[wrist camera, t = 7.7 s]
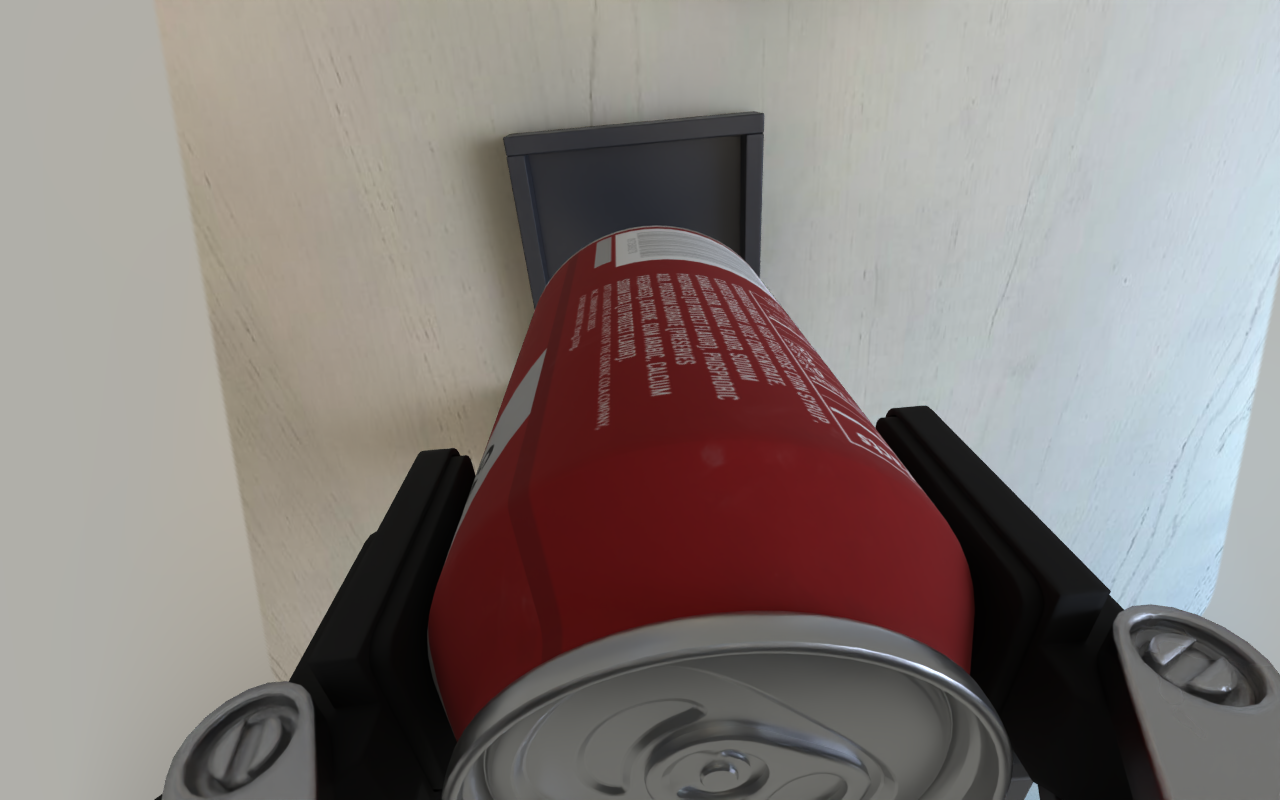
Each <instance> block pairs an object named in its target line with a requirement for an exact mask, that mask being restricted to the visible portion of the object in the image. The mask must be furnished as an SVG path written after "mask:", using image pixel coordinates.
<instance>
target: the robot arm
mask: <svg viewBox="0 0 1280 800" xmlns="http://www.w3.org/2000/svg"><path fill="white" fill-rule="evenodd" d="M876 430H877V431H878V433H879V434H880V435H881V436H882V438H883V439H884V440H885V442H886V443H887V444H888V446H889V447H890V448H891V449H892V451H893V452H894V453H895V455H896V456H897V457H898V458H899V460H900V461H901V462H902V464H903V465H904V466H905V468H906V469H907V470H908V471H909V473H910V474H911V475H912V477H913V478H914V479H915V481H916V482H917V483H918V484H919V486H920V487H921V488H922V490H923V491H924V492H925V493H926V495H927V496H928V497H929V499H930V500H931V501H932V503H933V504H934V505H935V506H936V508H937V509H938V510H939V512H940V513H941V514H942V516H943V517H944V518H945V520H946V521H947V522H948V524H949V526H950V528H951V529H952V531H953V533H954V534H955V536H956V538H957V539H958V541H959V543H960V545H961V548H962V550H963V553H964V555H965V557H966V560H967V563H968V565H969V569H970V574H971V578H972V583H973V588H974V604H975V616H974V629H973V642H972V655H971V667H970V676H971V677H972V678H973V679H974V680H975V682H976V683H977V684H978V685H979V687H980V688H981V689H982V691H983V692H984V694H985V695H986V697H987V698H988V699H989V701H990V702H991V704H992V705H993V707H994V709H995V710H996V712H997V714H998V715H999V717H1000V719H1001V721H1002V723H1003V725H1004V728H1005V730H1006V732H1007V734H1008V737H1009V740H1010V744H1011V748H1012V752H1013V764H1022V765H1023V767H1024V768H1025V770H1026V772H1027V773H1028V775H1029V777H1030V778H1031V780H1032V781H1033V782H1035V783H1036V784H1038V789H1039V796H1040V800H1280V675H1279V673H1278V672H1277V670H1276V669H1275V668H1274V667H1273V665H1272V664H1271V663H1270V661H1269V660H1268V659H1267V658H1265V657H1264V656H1263V655H1262V654H1261V653H1260V652H1258V651H1257V650H1256V649H1255V648H1254V647H1253V646H1251V645H1250V644H1249V643H1248V642H1246V641H1245V640H1243V639H1242V638H1240V637H1239V636H1237V635H1235V634H1234V633H1232V632H1231V631H1229V630H1227V629H1226V628H1224V627H1222V626H1220V625H1218V624H1216V623H1214V622H1212V621H1209V620H1207V619H1205V618H1203V617H1201V616H1199V615H1196V614H1193V613H1189V612H1186V611H1183V610H1179V609H1176V608H1173V607H1166V606H1158V605H1140V606H1132V607H1130V608H1128V609H1126V610H1124V609H1123V608H1122V607H1121V606H1120V605H1119V604H1118V603H1117V602H1116V601H1115V600H1114V599H1113V598H1112V597H1111V596H1110V595H1109V594H1110V592H1111V591H1110V590H1109V589H1108V588H1107V587H1106V586H1105V585H1104V584H1103V583H1102V582H1101V581H1100V580H1099V579H1098V578H1097V577H1096V576H1095V575H1094V574H1093V573H1092V572H1091V571H1090V570H1089V569H1088V568H1087V566H1086V565H1085V564H1084V563H1083V562H1082V561H1081V560H1080V559H1079V558H1078V557H1077V556H1076V555H1075V554H1074V553H1073V552H1072V551H1071V550H1070V549H1069V548H1068V547H1067V546H1066V545H1065V544H1064V543H1063V542H1062V541H1061V540H1060V539H1059V538H1058V537H1057V536H1056V535H1055V534H1054V533H1053V532H1052V531H1051V530H1050V529H1049V528H1048V527H1047V526H1046V525H1045V524H1044V523H1043V522H1042V521H1041V520H1040V519H1039V518H1038V517H1037V516H1036V515H1035V514H1034V513H1033V512H1032V511H1031V510H1030V509H1029V508H1028V507H1027V506H1026V505H1025V504H1024V503H1023V502H1022V501H1021V500H1020V499H1019V498H1018V497H1017V496H1016V495H1015V493H1014V492H1013V491H1012V490H1011V489H1010V488H1009V487H1008V486H1007V485H1006V484H1005V483H1004V482H1003V481H1002V480H1001V479H1000V478H999V477H998V476H997V475H996V474H995V473H994V472H993V471H992V470H991V469H990V468H989V467H988V466H987V465H986V464H985V463H984V462H983V461H982V460H981V459H980V458H979V457H978V456H977V455H976V454H975V453H974V452H973V451H972V450H971V449H970V448H969V447H968V446H967V445H966V444H965V443H964V442H963V441H962V440H961V439H960V438H959V437H958V436H957V435H956V434H955V433H954V432H953V431H952V430H951V429H950V428H949V427H948V426H947V425H946V424H945V423H944V422H943V421H942V419H941V418H940V417H939V416H938V415H937V414H936V413H935V412H934V411H933V410H932V409H930V408H929V407H928V406H914V407H903V408H892V409H890V410H889V411H888V413H887V414H886V417H885V418H880V419H879V420H878V421H877V424H876ZM475 477H476V476H475V472H474V469H473V465H472V462H471V459H470V458H469V456H467V455H465V456H460V454H459V452H458V451H457V449H455V448H450V449H439V450H428V451H422V452H420V453H419V454H418V456H417V457H416V459H415V461H414V463H413V465H412V467H411V469H410V470H409V472H408V474H407V476H406V478H405V480H404V482H403V484H402V485H401V487H400V489H399V491H398V493H397V495H396V497H395V499H394V500H393V502H392V504H391V506H390V508H389V510H388V512H387V513H386V515H385V517H384V519H383V521H382V523H381V525H380V527H379V528H378V530H377V531H376V532H375V533H373V534H371V535H370V536H369V538H368V539H367V540H366V542H365V543H364V545H363V547H362V549H361V551H360V553H359V554H358V556H357V558H356V560H355V562H354V564H353V565H352V567H351V569H350V571H349V573H348V574H347V576H346V578H345V580H344V582H343V584H342V585H341V587H340V589H339V591H338V593H337V595H336V596H335V598H334V600H333V602H332V604H331V605H330V607H329V609H328V611H327V613H326V615H325V616H324V618H323V620H322V622H321V624H320V626H319V627H318V629H317V631H316V633H315V635H314V636H313V638H312V640H311V642H310V644H309V646H308V647H307V649H306V651H305V653H304V655H303V657H302V658H301V660H300V662H299V664H298V666H297V667H296V669H295V671H294V673H293V675H292V677H291V678H290V680H289V682H288V681H283V682H271V683H266V684H263V685H260V686H257V687H254V688H251V689H248V690H246V691H244V692H242V693H241V694H239V695H237V696H235V697H233V698H232V699H230V700H228V701H226V702H225V703H224V704H222V705H221V706H220V707H218V708H217V709H216V710H214V711H213V712H212V713H210V714H209V715H208V716H207V717H205V719H204V720H203V721H202V722H201V723H200V724H199V725H198V726H197V727H196V728H195V729H194V730H193V731H192V732H191V733H190V734H189V735H188V737H187V738H186V739H185V741H184V742H183V744H182V745H181V747H180V748H179V750H178V751H177V753H176V754H175V756H174V758H173V760H172V763H171V766H170V768H169V771H168V774H167V777H166V781H165V785H164V790H163V794H162V795H160V796H159V797H157V798H156V799H155V800H441V796H442V790H443V784H444V780H445V776H446V772H447V768H448V765H449V762H450V759H451V757H452V754H453V751H454V748H455V746H456V744H457V741H456V738H455V736H454V733H453V731H452V728H451V725H450V723H449V720H448V718H447V715H446V713H445V710H444V708H443V705H442V702H441V700H440V697H439V694H438V692H437V689H436V686H435V684H434V681H433V677H432V673H431V668H430V663H429V659H428V645H427V630H428V621H429V612H430V608H431V604H432V600H433V597H434V593H435V589H436V586H437V583H438V580H439V578H440V575H441V572H442V569H443V566H444V564H445V561H446V558H447V555H448V552H449V550H450V547H451V544H452V541H453V538H454V536H455V533H456V530H457V527H458V524H459V522H460V519H461V516H462V513H463V510H464V508H465V505H466V502H467V499H468V496H469V494H470V491H471V488H472V485H473V482H474V480H475Z"/></svg>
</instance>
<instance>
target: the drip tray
mask: <svg viewBox="0 0 1280 800" xmlns="http://www.w3.org/2000/svg"><path fill="white" fill-rule="evenodd" d="M763 132H764V113H759V112H743V113H732V114H721V115H710V116H699V117H689V118H678V119H667V120H656V121H645V122H635V123H624V124H613V125H602V126H591V127H580V128H570V129H559V130H548V131H537V132H526V133H516V134H510V135H508V136H506V137H504V138H503V140H504V146H505V151H506V155H507V156H508V157H507V162H508V168H509V173H510V179H511V184H512V189H513V195H514V200H515V206H516V211H517V216H518V222H519V227H520V233H521V238H522V244H523V249H524V254H525V260H526V265H527V271H528V276H529V281H530V287H531V292H532V298H533V303H534V309H536V306H537V304H538V301H539V299H540V296H541V295H542V293H543V291H544V289H545V287H546V285H547V284H548V282H549V281H550V279H551V278H552V277H553V275H554V274H555V273H556V272H557V270H558V269H559V268H560V267H561V266H562V265H563V264H564V263H565V262H566V261H567V260H568V259H569V258H570V257H571V256H573V255H574V254H575V253H577V252H578V251H579V250H580V249H582V248H583V247H585V246H587V245H588V244H590V243H592V242H593V241H595V240H597V239H600V238H602V237H604V236H606V235H609V234H612V233H614V232H617V231H621V230H625V229H629V228H634V227H641V226H655V225H658V226H673V227H679V228H685V229H689V230H693V231H696V232H699V233H702V234H704V235H707V236H709V237H711V238H713V239H715V240H717V241H719V242H721V243H723V244H724V245H726V246H727V247H729V248H730V249H732V250H733V251H734V252H735V253H737V254H738V255H739V256H740V257H741V258H742V259H743V260H744V261H745V262H746V263H747V264H748V265H749V266H750V267H751V268H752V269H753V271H754V272H755V273H756V274H757V276H758V277H759V278H760V248H761V212H762V176H763V141H764V134H763Z"/></svg>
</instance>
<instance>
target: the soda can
mask: <svg viewBox="0 0 1280 800" xmlns="http://www.w3.org/2000/svg"><path fill="white" fill-rule="evenodd" d="M974 616H975V604H974V588H973V583H972V578H971V574H970V569H969V565H968V563H967V560H966V557H965V555H964V553H963V550H962V548H961V545H960V543H959V541H958V539H957V538H956V536H955V534H954V533H953V531H952V529H951V528H950V526H949V524H948V522H947V521H946V520H945V518H944V517H943V516H942V514H941V513H940V512H939V510H938V509H937V508H936V506H935V505H934V504H933V503H932V501H931V500H930V499H929V497H928V496H927V495H926V493H925V492H924V491H923V490H922V488H921V487H920V486H919V484H918V483H917V482H916V481H915V479H914V478H913V477H912V475H911V474H910V473H909V471H908V470H907V469H906V468H905V466H904V465H903V464H902V462H901V461H900V460H899V458H898V457H897V456H896V455H895V453H894V452H893V451H892V449H891V448H890V447H889V446H888V444H887V443H886V442H885V440H884V439H883V438H882V436H881V435H880V434H879V433H878V431H877V430H876V429H875V427H874V426H873V425H872V423H871V422H870V421H869V420H868V418H867V417H866V416H865V414H864V413H863V412H862V411H861V409H860V408H859V407H858V405H857V404H856V403H855V401H854V400H853V399H852V398H851V396H850V395H849V394H848V392H847V391H846V390H845V388H844V387H843V386H842V385H841V383H840V382H839V381H838V379H837V378H836V377H835V375H834V374H833V373H832V372H831V370H830V369H829V368H828V366H827V365H826V364H825V363H824V361H823V360H822V359H821V357H820V356H819V355H818V353H817V352H816V351H815V350H814V348H813V347H812V346H811V344H810V343H809V342H808V340H807V339H806V338H805V337H804V335H803V334H802V333H801V331H800V330H799V329H798V328H797V326H796V325H795V324H794V322H793V321H792V320H791V318H790V317H789V316H788V315H787V313H786V312H785V311H784V309H783V308H782V307H781V305H780V304H779V303H778V302H777V300H776V299H775V298H774V296H773V295H772V294H771V292H770V291H769V290H768V289H767V287H766V286H765V285H764V283H763V282H762V281H761V280H760V278H759V277H758V276H757V274H756V273H755V272H754V271H753V269H752V268H751V267H750V266H749V265H748V264H747V263H746V262H745V261H744V260H743V259H742V258H741V257H740V256H739V255H738V254H737V253H735V252H734V251H733V250H732V249H730V248H729V247H727V246H726V245H724V244H723V243H721V242H719V241H717V240H715V239H713V238H711V237H709V236H707V235H704V234H702V233H699V232H696V231H693V230H689V229H685V228H679V227H673V226H658V225H655V226H641V227H634V228H629V229H625V230H621V231H617V232H614V233H612V234H609V235H606V236H604V237H602V238H600V239H597V240H595V241H593V242H592V243H590V244H588V245H587V246H585V247H583V248H582V249H580V250H579V251H578V252H577V253H575V254H574V255H573V256H571V257H570V258H569V259H568V260H567V261H566V262H565V263H564V264H563V265H562V266H561V267H560V268H559V269H558V270H557V272H556V273H555V274H554V275H553V277H552V278H551V279H550V281H549V282H548V284H547V285H546V287H545V289H544V291H543V293H542V295H541V296H540V299H539V301H538V304H537V306H536V309H535V311H534V314H533V317H532V320H531V323H530V325H529V328H528V331H527V334H526V337H525V339H524V342H523V345H522V348H521V351H520V353H519V356H518V359H517V362H516V365H515V367H514V370H513V373H512V376H511V379H510V381H509V384H508V387H507V390H506V393H505V395H504V398H503V401H502V404H501V407H500V409H499V412H498V415H497V418H496V421H495V423H494V426H493V429H492V432H491V435H490V437H489V440H488V443H487V446H486V449H485V451H484V454H483V457H482V460H481V463H480V466H479V468H478V471H477V474H476V477H475V480H474V482H473V485H472V488H471V491H470V494H469V496H468V499H467V502H466V505H465V508H464V510H463V513H462V516H461V519H460V522H459V524H458V527H457V530H456V533H455V536H454V538H453V541H452V544H451V547H450V550H449V552H448V555H447V558H446V561H445V564H444V566H443V569H442V572H441V575H440V578H439V580H438V583H437V586H436V589H435V593H434V597H433V600H432V604H431V608H430V612H429V621H428V630H427V645H428V659H429V663H430V668H431V673H432V677H433V681H434V684H435V686H436V689H437V692H438V694H439V697H440V700H441V702H442V705H443V708H444V710H445V713H446V715H447V718H448V720H449V723H450V725H451V728H452V731H453V733H454V736H455V738H456V741H457V744H456V746H455V748H454V751H453V754H452V757H451V759H450V762H449V765H448V768H447V772H446V776H445V780H444V784H443V790H442V796H441V800H1005V797H1006V795H1007V792H1008V789H1009V787H1010V784H1011V779H1012V773H1013V752H1012V748H1011V744H1010V740H1009V737H1008V734H1007V732H1006V730H1005V728H1004V725H1003V723H1002V721H1001V719H1000V717H999V715H998V714H997V712H996V710H995V709H994V707H993V705H992V704H991V702H990V701H989V699H988V698H987V697H986V695H985V694H984V692H983V691H982V689H981V688H980V687H979V685H978V684H977V683H976V682H975V680H974V679H973V678H972V677H971V676H970V667H971V655H972V642H973V629H974Z"/></svg>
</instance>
